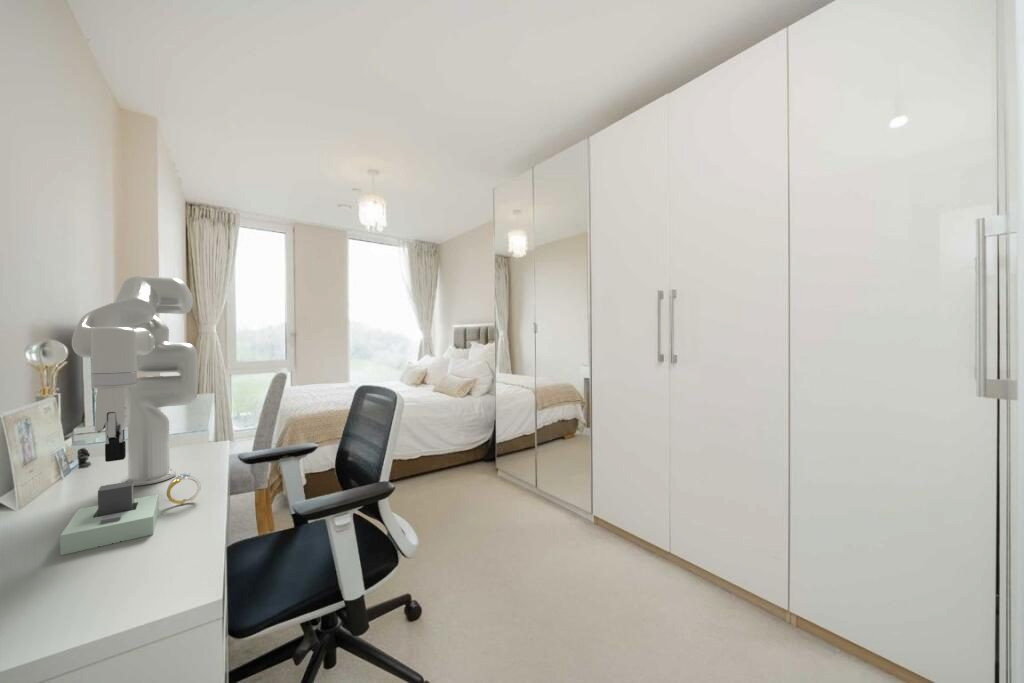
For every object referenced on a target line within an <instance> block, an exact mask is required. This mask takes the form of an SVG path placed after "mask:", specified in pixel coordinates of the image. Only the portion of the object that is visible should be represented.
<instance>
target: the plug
mask: <svg viewBox="0 0 1024 683" xmlns="http://www.w3.org/2000/svg"><path fill="white" fill-rule="evenodd" d="M134 495H135V494H134V486H133V481H129V482H123V483H121V482H118V483H112V484H105V485H100V487H99V488H98V490H97V505H98V517H100V516H105V515H111V514H116V513H121V512H126V511H131V510H134V499H135V497H134Z"/></svg>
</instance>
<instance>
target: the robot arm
mask: <svg viewBox="0 0 1024 683" xmlns="http://www.w3.org/2000/svg"><path fill="white" fill-rule="evenodd" d="M193 298H194V297H193V294H192V292H191V290H190V288H189V287H188V285H187V284H186V283H185V282H184V281H183V280H182V279H179V278H175V277H165V276H163V277H162V276H160V277H159V276H147V275H136V276H135V275H134V276H132V277H131V276H130V277H129V278H127V279H126V280H124V281H123V283H122V284H121V287H120V289H119V292H118V294H117V297H116V298H115V301H113V302H111V303H108V304H105V305H104V306H100V307H98V308H96V309H93V310H91V311H88V312H87V313H86V314H84V315H83V316H82V317H81V318H80V319H79V321H78V323H77V325H76V327H75V329H74V331H73V334H72V338H71V348H72V349H73V352H74V353H75V354H76V355H77V356H79V357H81V358H87V359H91V360H90V363H91V364H90V366H91V368H90V370H91V374H90V378H91V379H90V380H91V381H90V382H91V385H90V386H91V388H90V389H96V394H95V395H96V396H95V397H96V398H95V407H94V408H95V409H94V410H95V411H94V412H95V414H94V416H95V417H94V432H95V433H97V434H100V433H101V432H102V431H103V430H105V431H104V433H105V434H104V435H105V444H104V457H105V458H104V461H105V462H107V463H108V462H116V461H123V460H125V459H126V456H127V463H128V466H127V468H128V469H127V470H128V471H127V476H124V477H123V478H122V479H121V480H120V483H123V482H129V481H133V487H134V486H135V487H136V486H137V487H138V486H144V485H145V486H146V485H152V484H156V483H161V482H163V481H166V480H167V481H168V480H169V479H172V478H175V476H177V475H176V474H177V471H176V469H173V468H170V465H171V464H170V462H171V461H170V420H169V418H168V416H167V415H166V414H165V413H164V412H162V410H161V409H159V408H164V407H165V408H167V407H175V406H176V407H177V406H178V407H179V406H187V405H191V404H193V403H195V401H196V400H197V397H198V377H199V376H198V373H199V372H198V371H199V368H198V366H199V362H198V361H199V360H198V358H199V357H198V352H197V348H196V347H195V346H194V344H191V343H188V342H169V338H170V329H169V327H168V326H167V324H166V323H165V322H164V321H163V320H162V319H161V318H159V317H158V316H157V315H156V314H176V315H179V314H181V315H182V314H188V313H189V312H191V310H192V309H193V305H194V299H193ZM138 373H141V374H142V373H143V374H158V373H159V374H160V373H161V374H163V373H178V374H179V375H165V376H164V375H157V376H156V375H155V376H140V377H138ZM125 429H127V446H126V440H125V435H126V434H125V433H126V431H125ZM126 447H127V455H126Z"/></svg>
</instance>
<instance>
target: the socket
mask: <svg viewBox="0 0 1024 683" xmlns="http://www.w3.org/2000/svg"><path fill="white" fill-rule="evenodd" d="M159 495H160V494H153V495H148V496H142V497H137V498H134V510H131V511H126V512H121V513H116V514H111V515H105V516H100V517H98V504H97V505H92V506H87V507H80V508H78V509H77V511H76V512H75V514H74V515H73V516H72V517H71V519H70V521H69V522H68V523H67V525H66V527H65V528H64V529H63V531H62V532H61V534H60V535H59V540H60V542H59V544H60V545H59V546H60V549H59V551H60V553H59V554H60V556H65V555H67V554H73V553H76V552H82V551H85V550H91V549H95V548H99V547H98V546H100V547H102V546H108V545H112V543H113V544H117V543H121V542H120V541H122V542H126V541H129V540H134V539H139V538H143V537H144V538H145V537H149V536H152V535H154V533H155V527H156V524H157V519H158V515H159V511H160V501H159V500H160V499H159V498H160V497H159ZM125 540H126V541H125Z"/></svg>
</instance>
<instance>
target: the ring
mask: <svg viewBox="0 0 1024 683" xmlns="http://www.w3.org/2000/svg"><path fill="white" fill-rule="evenodd" d="M185 480H191V481H194V482H195V484H196V486H197V489H196V492H195V494H194V495H192V496H191V497H190V498H185V499H182V500H178V499H175V498H173V497H172V495H171V490H172V489H173V488H174V486H176V485H177V484H178V483H180V482H181V481H185ZM201 489H202V484H201V481H200V480H199V478H197V477H195V476H191V472H188V474H187V473H186V472H182V473H179V475H175V476H174V479H172V480H171V481H170V482H169V484H168V486H167V489H166V498H167V499H168V501H170V502H171V503H172V504H178V505H181V504H182V505H186V504H187V503H190V502H192V501H193V500H194V499H196V498H197V497H198V496H199V494H200V492H201Z"/></svg>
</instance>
